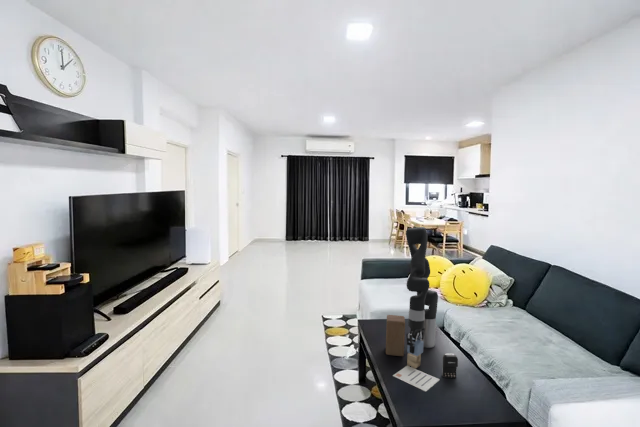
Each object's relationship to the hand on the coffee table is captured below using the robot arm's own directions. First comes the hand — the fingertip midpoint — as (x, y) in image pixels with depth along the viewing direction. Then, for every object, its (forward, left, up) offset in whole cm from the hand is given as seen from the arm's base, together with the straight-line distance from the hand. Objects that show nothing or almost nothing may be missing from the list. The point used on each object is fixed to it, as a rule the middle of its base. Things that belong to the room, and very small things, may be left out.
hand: (415, 350), depth 170 cm
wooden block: (-15, -21, -14) cm, 29 cm away
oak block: (-10, -6, -14) cm, 18 cm away
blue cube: (0, 0, -1) cm, 1 cm away
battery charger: (-13, +12, -14) cm, 23 cm away
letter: (0, +1, -14) cm, 14 cm away
